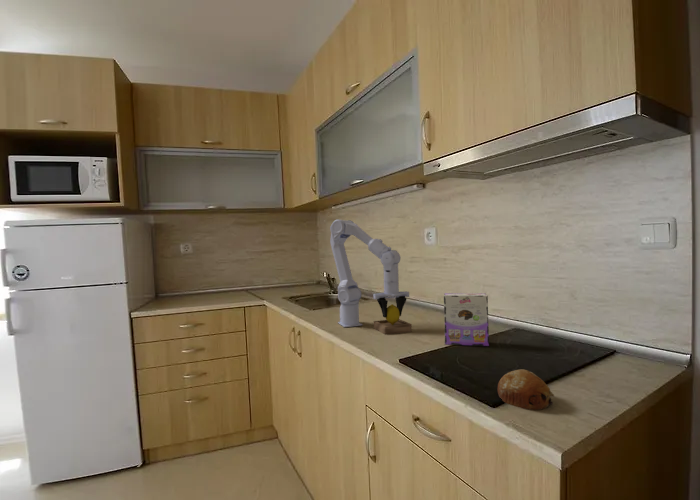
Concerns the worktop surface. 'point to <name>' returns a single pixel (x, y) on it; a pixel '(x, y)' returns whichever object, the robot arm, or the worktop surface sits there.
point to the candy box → (466, 319)
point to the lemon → (392, 314)
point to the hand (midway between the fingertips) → (391, 316)
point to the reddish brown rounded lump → (524, 390)
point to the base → (392, 327)
